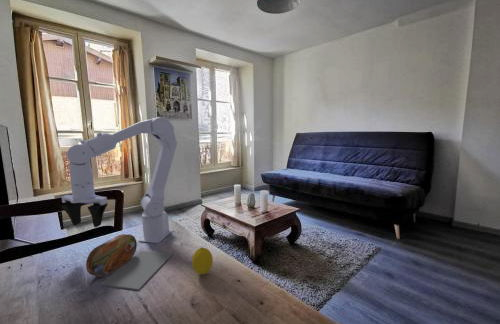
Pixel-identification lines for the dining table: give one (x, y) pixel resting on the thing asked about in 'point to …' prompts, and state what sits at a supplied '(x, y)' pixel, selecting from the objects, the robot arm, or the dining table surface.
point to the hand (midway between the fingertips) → (87, 225)
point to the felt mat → (137, 270)
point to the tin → (111, 255)
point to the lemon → (202, 261)
